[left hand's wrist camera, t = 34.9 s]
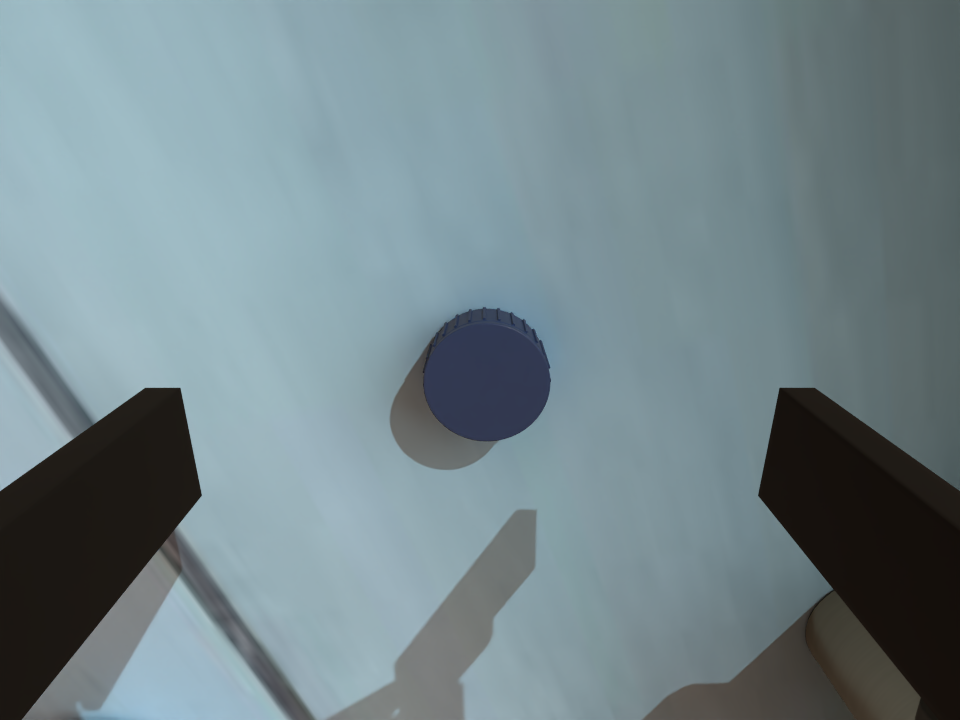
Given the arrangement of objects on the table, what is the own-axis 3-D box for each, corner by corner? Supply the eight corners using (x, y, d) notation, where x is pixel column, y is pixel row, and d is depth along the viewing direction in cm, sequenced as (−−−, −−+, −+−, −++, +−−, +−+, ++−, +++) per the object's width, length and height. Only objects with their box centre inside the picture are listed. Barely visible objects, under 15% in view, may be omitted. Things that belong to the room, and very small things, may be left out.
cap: (495, 281, 18) (497, 294, 16) (570, 372, 19) (578, 393, 17) (403, 355, 19) (394, 375, 17) (478, 439, 20) (477, 466, 18)
